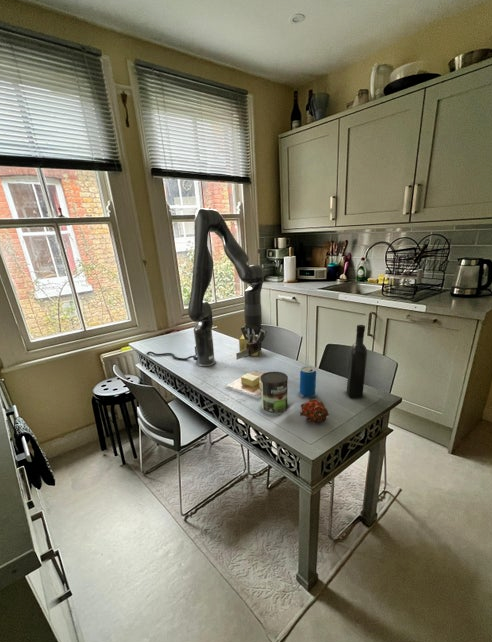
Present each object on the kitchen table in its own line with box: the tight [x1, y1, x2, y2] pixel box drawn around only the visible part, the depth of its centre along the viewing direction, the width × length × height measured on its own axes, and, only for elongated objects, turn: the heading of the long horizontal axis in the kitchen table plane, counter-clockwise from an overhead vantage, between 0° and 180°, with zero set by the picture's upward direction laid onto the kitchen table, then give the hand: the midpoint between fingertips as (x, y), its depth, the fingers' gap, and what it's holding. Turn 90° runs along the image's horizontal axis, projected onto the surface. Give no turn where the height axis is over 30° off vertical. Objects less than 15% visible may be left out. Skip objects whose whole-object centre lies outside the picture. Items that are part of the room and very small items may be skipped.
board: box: [226, 369, 265, 397], centre depth 144 cm, size 18×20×2 cm
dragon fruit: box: [299, 399, 330, 424], centre depth 116 cm, size 8×8×12 cm
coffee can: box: [261, 371, 289, 416], centre depth 122 cm, size 10×10×14 cm
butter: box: [240, 372, 260, 387], centre depth 143 cm, size 7×5×3 cm, turn 51°
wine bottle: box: [346, 324, 368, 399], centre depth 126 cm, size 6×6×30 cm
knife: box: [235, 341, 262, 360], centre depth 142 cm, size 2×16×5 cm, turn 141°
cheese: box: [238, 333, 259, 357], centre depth 180 cm, size 10×11×10 cm
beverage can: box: [299, 366, 317, 399], centre depth 131 cm, size 6×6×12 cm
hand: (253, 349), depth 146 cm, fingers closed on knife, 2 cm apart
